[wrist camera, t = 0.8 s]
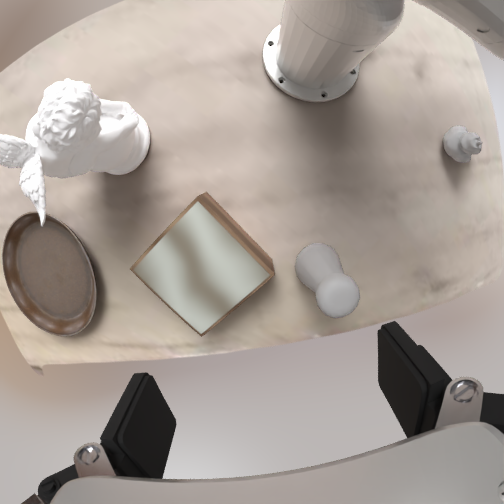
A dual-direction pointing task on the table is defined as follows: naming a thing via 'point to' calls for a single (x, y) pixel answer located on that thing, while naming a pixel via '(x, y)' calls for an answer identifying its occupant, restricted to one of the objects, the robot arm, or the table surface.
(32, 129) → the cherub figurine
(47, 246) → the plant saucer
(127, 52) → the table surface
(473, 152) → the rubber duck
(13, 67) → the table surface
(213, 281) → the square box
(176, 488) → the robot arm
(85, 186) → the table surface
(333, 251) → the salt shaker
